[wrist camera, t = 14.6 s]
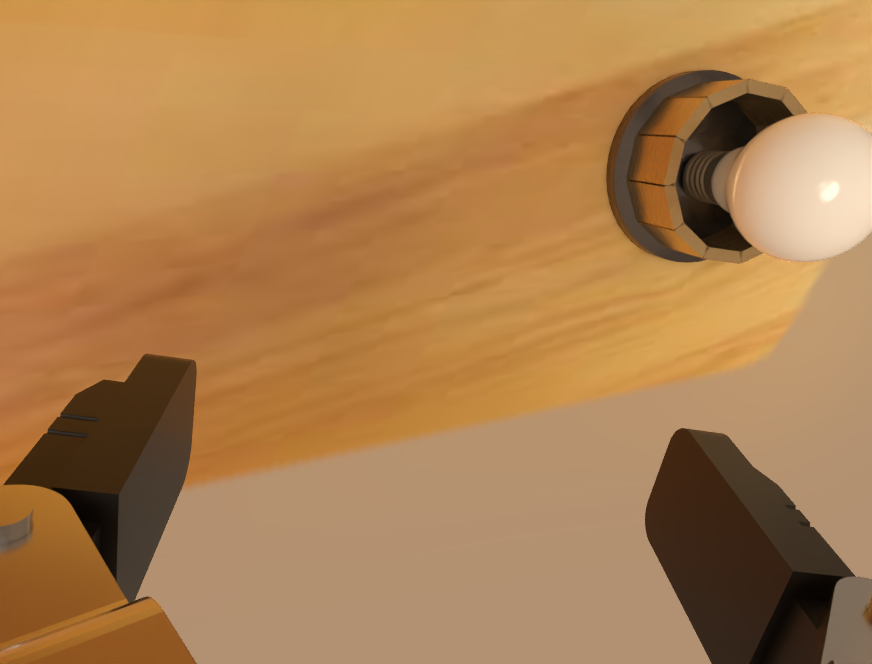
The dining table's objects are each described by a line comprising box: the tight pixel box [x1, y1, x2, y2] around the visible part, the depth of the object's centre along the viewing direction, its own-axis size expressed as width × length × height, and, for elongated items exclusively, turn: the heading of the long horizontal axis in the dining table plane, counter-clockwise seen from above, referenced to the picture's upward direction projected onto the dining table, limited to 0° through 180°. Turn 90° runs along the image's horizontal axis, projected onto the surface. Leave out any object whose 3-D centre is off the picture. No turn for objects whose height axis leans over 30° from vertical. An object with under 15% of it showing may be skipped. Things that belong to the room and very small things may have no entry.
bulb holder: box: [607, 70, 807, 264], centre depth 38 cm, size 10×10×4 cm
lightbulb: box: [683, 113, 872, 263], centre depth 34 cm, size 6×6×11 cm
